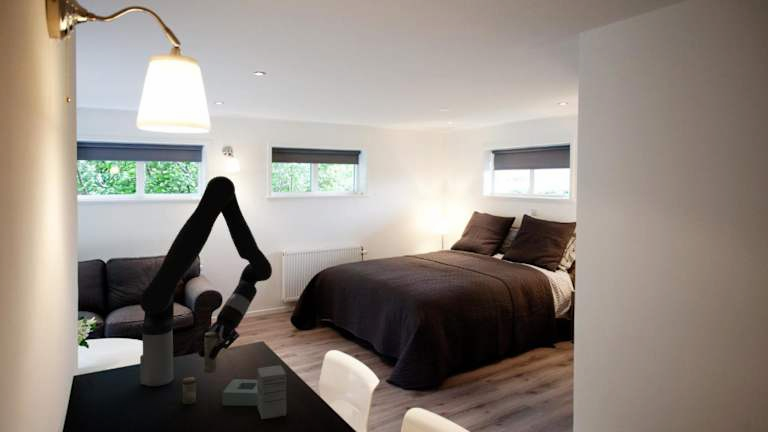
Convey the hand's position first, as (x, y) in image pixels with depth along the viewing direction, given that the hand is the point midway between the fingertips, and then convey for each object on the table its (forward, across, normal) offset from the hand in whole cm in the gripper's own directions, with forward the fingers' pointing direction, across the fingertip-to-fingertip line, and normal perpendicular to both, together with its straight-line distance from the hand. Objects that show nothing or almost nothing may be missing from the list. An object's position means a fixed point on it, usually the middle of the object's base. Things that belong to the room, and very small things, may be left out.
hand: (205, 357), depth 151 cm
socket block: (+5, +12, +13) cm, 18 cm away
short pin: (+12, -2, +6) cm, 14 cm away
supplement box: (+8, +25, +10) cm, 28 cm away
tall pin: (+2, 0, +5) cm, 5 cm away
